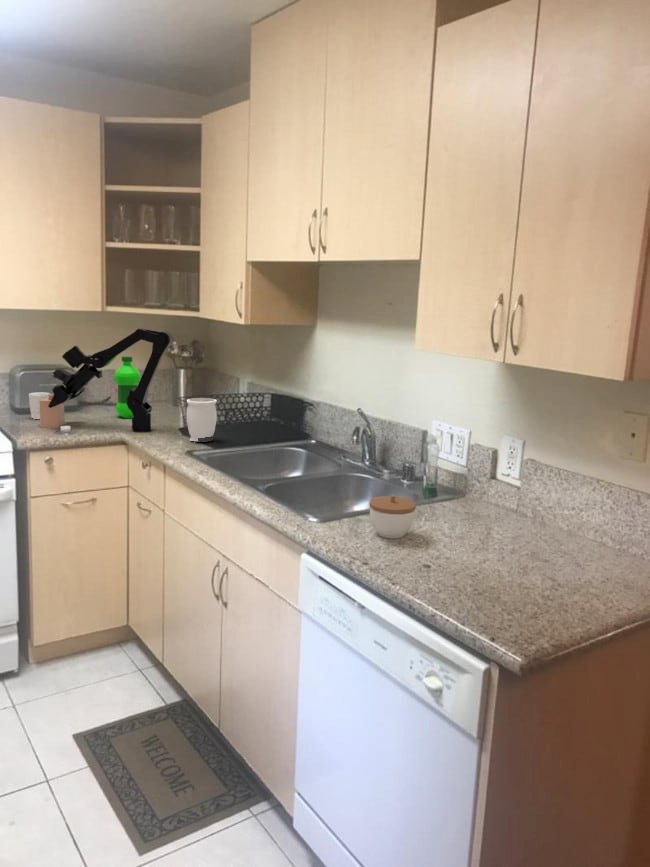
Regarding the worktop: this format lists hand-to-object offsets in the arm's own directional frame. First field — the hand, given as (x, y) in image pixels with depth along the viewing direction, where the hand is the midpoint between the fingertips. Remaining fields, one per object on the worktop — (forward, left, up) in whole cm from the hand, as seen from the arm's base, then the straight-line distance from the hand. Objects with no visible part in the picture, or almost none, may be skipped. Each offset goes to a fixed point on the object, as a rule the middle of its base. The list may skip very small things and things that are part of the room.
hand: (53, 405), depth 264 cm
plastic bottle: (-26, -19, -9) cm, 34 cm away
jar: (-53, +28, -9) cm, 61 cm away
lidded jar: (-90, +130, -9) cm, 158 cm away
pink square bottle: (+1, 0, -8) cm, 9 cm away
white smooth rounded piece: (-5, +13, -8) cm, 16 cm away
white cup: (+8, -18, -9) cm, 22 cm away
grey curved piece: (-5, +13, -8) cm, 16 cm away
